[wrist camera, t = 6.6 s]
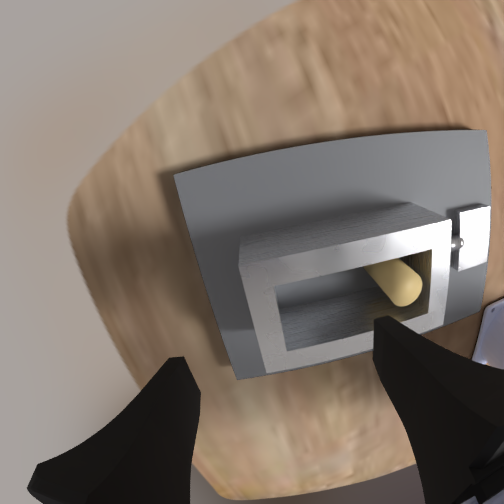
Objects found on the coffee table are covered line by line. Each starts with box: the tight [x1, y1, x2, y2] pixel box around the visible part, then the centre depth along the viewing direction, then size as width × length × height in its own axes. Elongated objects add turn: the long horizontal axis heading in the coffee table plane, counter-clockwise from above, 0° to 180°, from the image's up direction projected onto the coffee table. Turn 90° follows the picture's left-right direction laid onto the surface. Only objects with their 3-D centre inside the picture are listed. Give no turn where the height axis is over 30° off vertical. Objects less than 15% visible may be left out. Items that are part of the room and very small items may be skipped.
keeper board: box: [174, 130, 491, 380], centre depth 15 cm, size 20×14×6 cm
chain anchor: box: [451, 204, 490, 272], centre depth 15 cm, size 5×4×1 cm
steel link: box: [238, 203, 451, 373], centre depth 14 cm, size 10×6×4 cm, turn 102°
